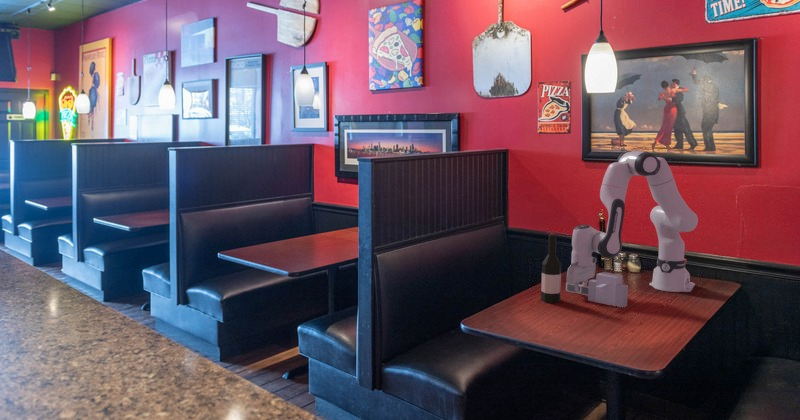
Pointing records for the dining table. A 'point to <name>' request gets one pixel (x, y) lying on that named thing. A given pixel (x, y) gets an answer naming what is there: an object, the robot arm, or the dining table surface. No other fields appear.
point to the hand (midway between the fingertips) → (580, 290)
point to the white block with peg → (608, 290)
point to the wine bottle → (551, 274)
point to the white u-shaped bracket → (582, 291)
